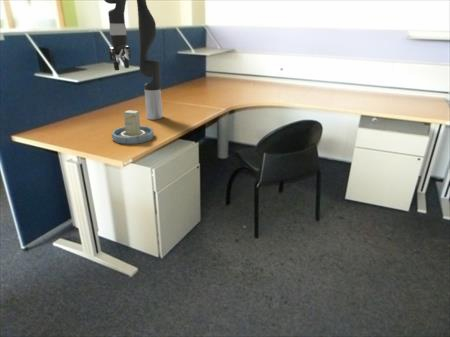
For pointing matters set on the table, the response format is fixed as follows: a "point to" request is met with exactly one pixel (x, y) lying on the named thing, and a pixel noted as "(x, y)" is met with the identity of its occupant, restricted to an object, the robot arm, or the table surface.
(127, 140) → the ring tray
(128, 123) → the skincare box
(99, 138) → the table surface
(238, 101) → the table surface
